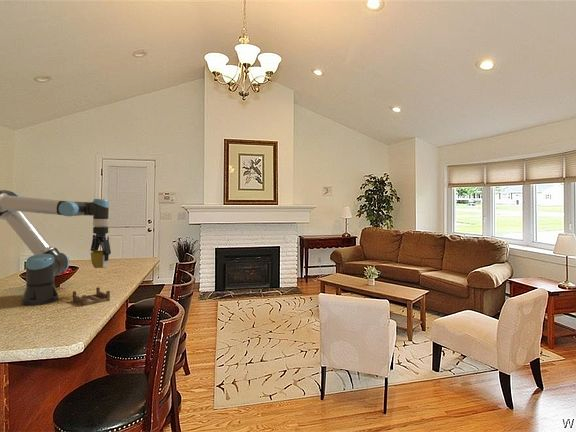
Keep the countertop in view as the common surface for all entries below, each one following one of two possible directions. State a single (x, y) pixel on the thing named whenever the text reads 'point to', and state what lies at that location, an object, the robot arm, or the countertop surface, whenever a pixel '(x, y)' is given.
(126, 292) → the countertop surface
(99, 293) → the rack
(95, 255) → the flower pot
